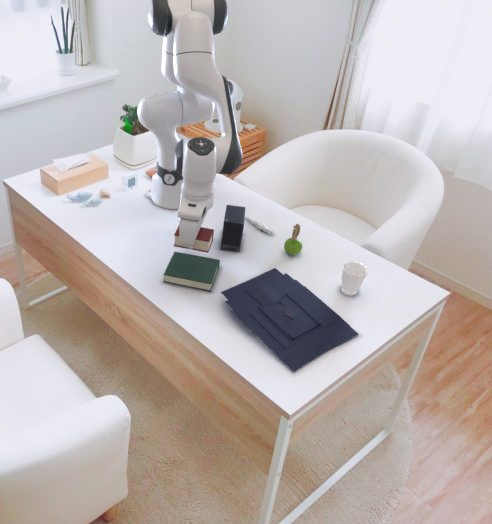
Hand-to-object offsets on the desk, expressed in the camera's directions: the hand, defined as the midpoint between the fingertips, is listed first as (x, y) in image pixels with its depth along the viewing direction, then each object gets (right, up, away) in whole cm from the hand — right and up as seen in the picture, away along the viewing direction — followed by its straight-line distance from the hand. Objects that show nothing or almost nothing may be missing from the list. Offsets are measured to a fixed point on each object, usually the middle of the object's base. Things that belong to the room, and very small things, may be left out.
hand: (193, 240), depth 163 cm
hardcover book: (0, -10, +7) cm, 12 cm away
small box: (+14, 0, +21) cm, 26 cm away
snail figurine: (+32, -4, +16) cm, 36 cm away
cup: (+45, -14, +2) cm, 48 cm away
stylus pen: (+23, +6, +29) cm, 38 cm away
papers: (+24, -22, -9) cm, 33 cm away
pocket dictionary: (0, -1, +1) cm, 1 cm away
